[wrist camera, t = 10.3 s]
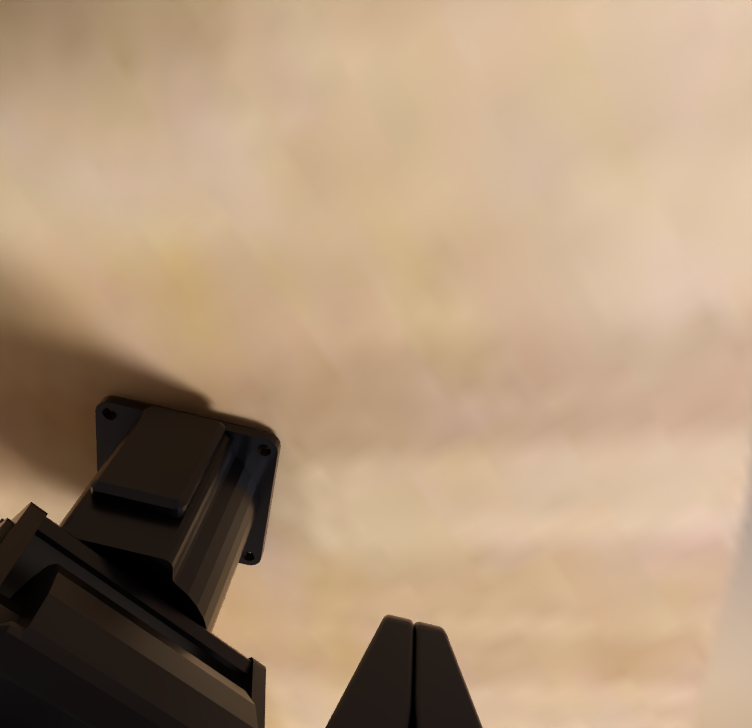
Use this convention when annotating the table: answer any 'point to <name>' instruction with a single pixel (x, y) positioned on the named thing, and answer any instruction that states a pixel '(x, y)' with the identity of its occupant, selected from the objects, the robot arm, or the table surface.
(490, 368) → the table surface
